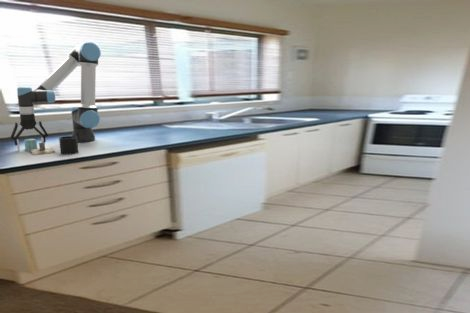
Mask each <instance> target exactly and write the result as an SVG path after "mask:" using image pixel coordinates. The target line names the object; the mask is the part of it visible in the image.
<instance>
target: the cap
mask: <svg viewBox="0 0 470 313" xmlns="http://www.w3.org/2000/svg"><path fill="white" fill-rule="evenodd" d="M23 142H24V149H25V151H27V152H29V151H30V150H32V149H38V144H37V138H27V139H24V140H23Z"/></svg>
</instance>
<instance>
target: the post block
mask: <svg viewBox="0 0 470 313" xmlns="http://www.w3.org/2000/svg"><path fill="white" fill-rule="evenodd" d="M45 144H46V142H45V143H42V142H39V143H38V146H39V148H37V149H32V150H30V153H31V154H32V155H34V156H37V155H44V154H45V155H46V154H55V153H56V150H55V149H53V148H52V147H46V145H45Z"/></svg>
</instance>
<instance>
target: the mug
mask: <svg viewBox="0 0 470 313" xmlns="http://www.w3.org/2000/svg"><path fill="white" fill-rule="evenodd" d="M58 140H59V148H60V149H59V151H60V154H61V155H74V154H77V153H79V144H78V143H79V142H77V137H76V136H72V135H67V136H60V137H59V138H58Z"/></svg>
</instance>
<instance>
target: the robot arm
mask: <svg viewBox="0 0 470 313" xmlns="http://www.w3.org/2000/svg"><path fill="white" fill-rule="evenodd" d="M101 54H102V53H101V48H100V46H99V45H98V44H97V43H95V42H94V41H89V40H88V41H84V42H80V43H78V44H76V46H75V47H73V49H72V50H71V51H70V52H69V53H68V54H67V58H66V59H65V60H63V61H62V63H61V64H59V65H58V67H57V68H55V70H54V71H53V72H51V74H50V75H49V76H48V77H47V78H46V79H45V80H44V81H43V82H42V83H41V84H40V85H39V86H38V87H37V88H35V89H34V90H33V89H32V87H31V86H19V87H17V89H16V90H17V92H16V93H17V95H16V96H17V101H18V109H19V114H20V115H19V120H20V122H17V121H16V122H14V127H13V129H12V132H11V135H10V137H9V138H10V139H11V140H13V141H14V146H16V147H17V151H18V152H19V151H21V149H20V142H19V141H20V140H19V139H18V138H20V136H21V135H22V134H23V132H24V130H33V129H34V130H35V131H36V132H37V133H38V134H39V135H40V136H41V137H40V139H41V141H40V142H41V143H45V144H46V142H47V140H46V138H47V137H49V134H48V132H47V131H46V129H45V127H44V126H43V123H42V120H41V121H40V120H39V121H36V116H35V108H34V104H51V103H55V102H56V94H55V90H56V89H57V88H58V87H59V86H60V85H61V84H62V82H64V81H65V80H66V79H67V78H68V77H69V76H70V75H71V73H72V72H73V71H74V70H75V69H77V68H78V67H80V104H79V105H78V106H75V107H74V106H73V107H71V118H72V119H71V120H72V128H73V129H72V134H71V136H76V137H77V142H78V143H86V142H88V143H89V142H93V141H95V140H96V136H95V133H94V131H93V128H95V127H97V126H98V125H99V123H100V118H101V117H100V115H99V113H98V110H99V108H98V106H97V105H96V80H97V79H96V72H97V71H96V69H97V68H96V67H97V66H99V59H100V57H101ZM37 125H38V126H39V127H40V129H41V131H42V132H41V131H40V130H39V129H38V128H37V127H36V126H37ZM20 126H21V127H20ZM18 127H20V130H19V131H18V132H17V130H18ZM16 132H17V133H16Z"/></svg>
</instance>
